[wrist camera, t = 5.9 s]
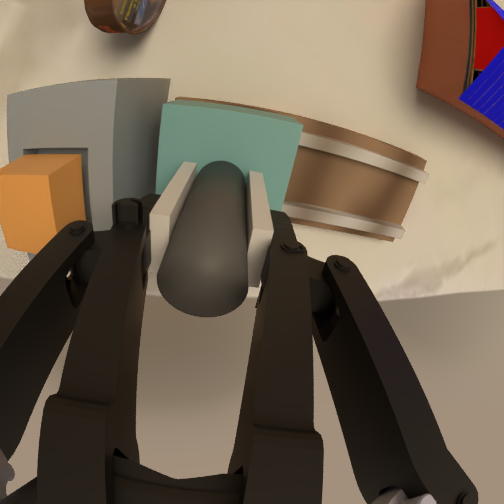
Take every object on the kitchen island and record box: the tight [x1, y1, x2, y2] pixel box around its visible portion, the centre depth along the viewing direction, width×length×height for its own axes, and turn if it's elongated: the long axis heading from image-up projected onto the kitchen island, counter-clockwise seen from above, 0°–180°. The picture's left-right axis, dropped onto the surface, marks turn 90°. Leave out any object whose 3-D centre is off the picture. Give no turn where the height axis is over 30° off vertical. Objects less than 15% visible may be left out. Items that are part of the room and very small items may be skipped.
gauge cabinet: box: [7, 78, 170, 261], centre depth 16 cm, size 12×8×10 cm, turn 169°
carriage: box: [156, 100, 303, 317], centre depth 14 cm, size 8×9×13 cm
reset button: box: [0, 154, 86, 254], centre depth 11 cm, size 4×4×3 cm
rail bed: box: [175, 97, 429, 242], centre depth 22 cm, size 22×9×2 cm, turn 79°
